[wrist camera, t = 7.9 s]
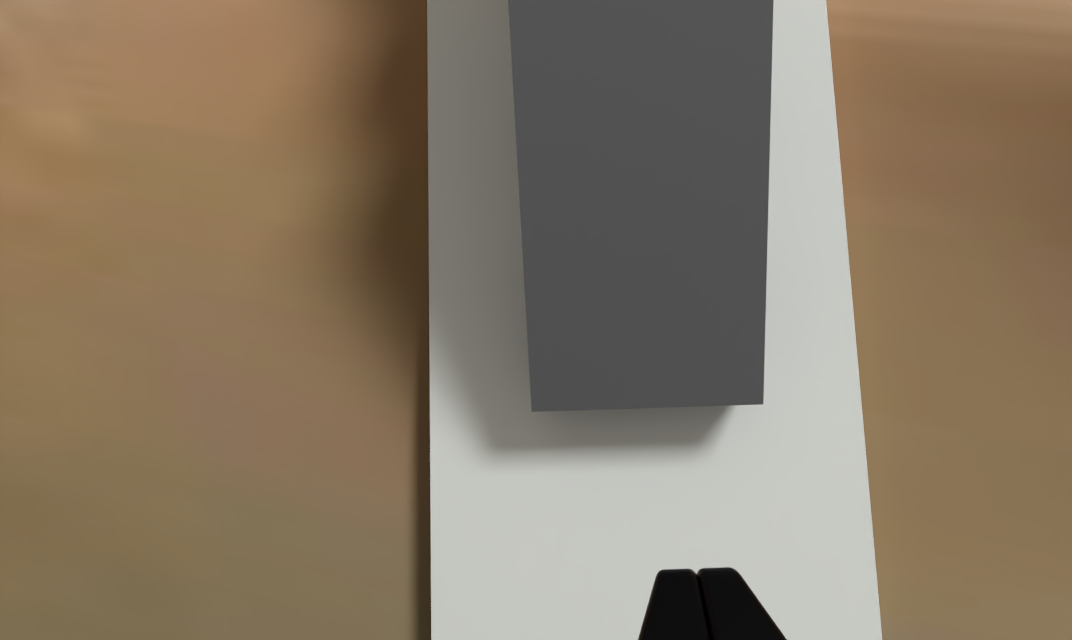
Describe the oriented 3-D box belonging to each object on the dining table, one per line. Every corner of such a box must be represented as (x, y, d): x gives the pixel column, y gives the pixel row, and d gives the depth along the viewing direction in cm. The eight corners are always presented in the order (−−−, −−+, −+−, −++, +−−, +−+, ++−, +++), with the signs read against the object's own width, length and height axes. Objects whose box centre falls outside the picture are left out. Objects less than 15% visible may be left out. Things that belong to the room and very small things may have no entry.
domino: (763, 404, 19) (776, -105, 16) (531, 411, 19) (503, -88, 16) (749, 378, 21) (758, -92, 18) (534, 384, 21) (509, -76, 18)
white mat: (874, 639, 20) (882, 645, 19) (436, 646, 21) (431, 652, 20) (805, -153, 23) (810, -169, 23) (430, -129, 24) (426, -144, 23)
